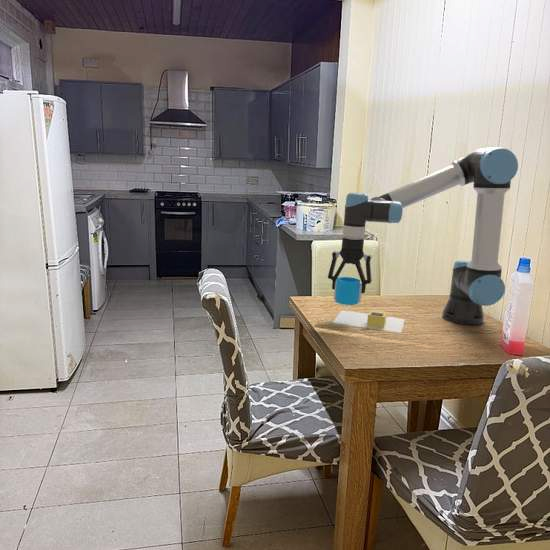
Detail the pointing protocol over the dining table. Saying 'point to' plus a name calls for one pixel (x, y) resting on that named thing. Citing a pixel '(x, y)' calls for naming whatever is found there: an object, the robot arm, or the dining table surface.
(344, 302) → the mug
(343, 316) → the drywall panel
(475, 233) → the robot arm
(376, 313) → the block
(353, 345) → the dining table surface
